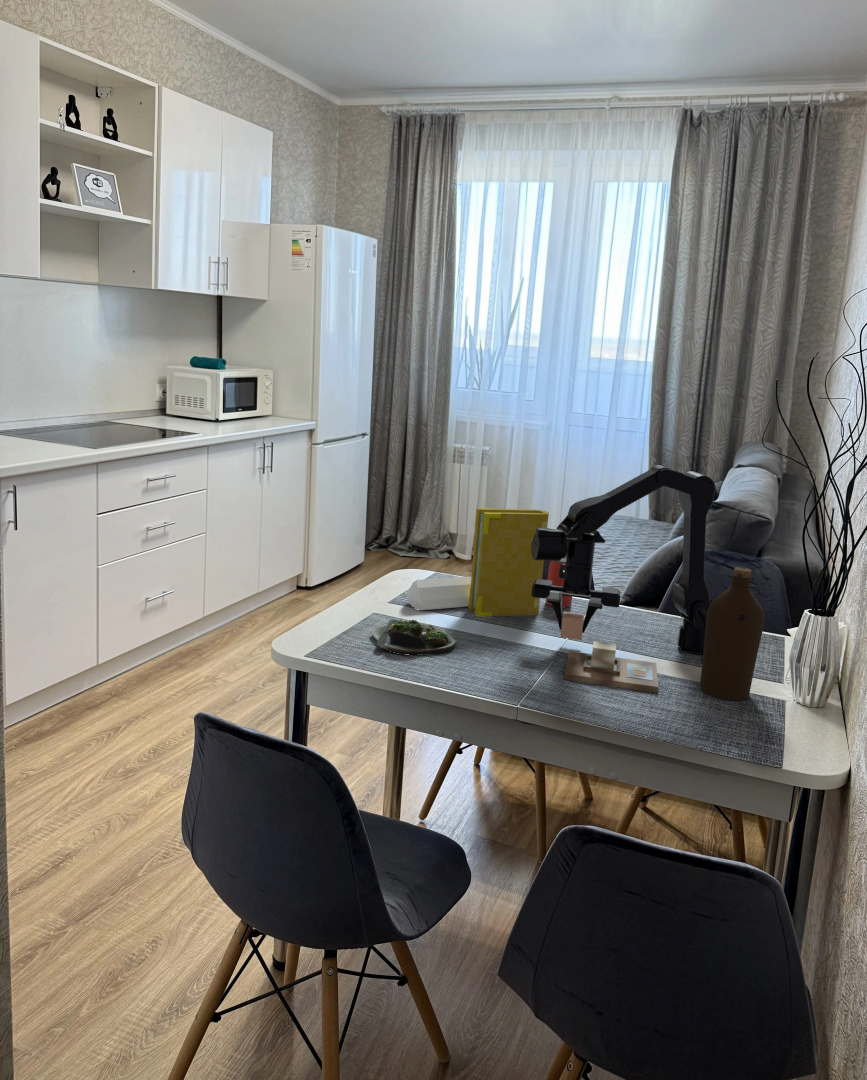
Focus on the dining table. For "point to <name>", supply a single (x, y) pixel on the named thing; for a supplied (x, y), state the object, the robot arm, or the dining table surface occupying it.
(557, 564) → the beer can
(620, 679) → the board
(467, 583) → the crystal
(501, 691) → the dining table surface
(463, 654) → the dining table surface
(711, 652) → the olive oil
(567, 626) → the terracotta block
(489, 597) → the book
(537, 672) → the dining table surface
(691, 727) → the dining table surface
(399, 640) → the salad plate
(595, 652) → the birch block
